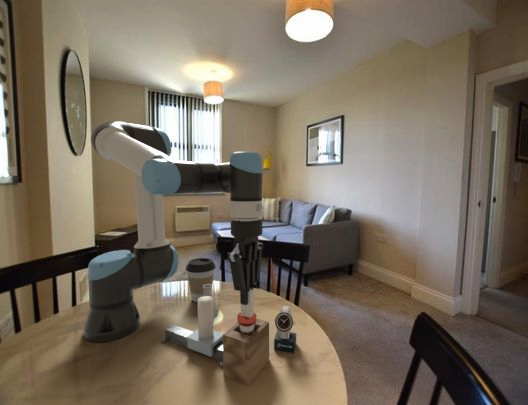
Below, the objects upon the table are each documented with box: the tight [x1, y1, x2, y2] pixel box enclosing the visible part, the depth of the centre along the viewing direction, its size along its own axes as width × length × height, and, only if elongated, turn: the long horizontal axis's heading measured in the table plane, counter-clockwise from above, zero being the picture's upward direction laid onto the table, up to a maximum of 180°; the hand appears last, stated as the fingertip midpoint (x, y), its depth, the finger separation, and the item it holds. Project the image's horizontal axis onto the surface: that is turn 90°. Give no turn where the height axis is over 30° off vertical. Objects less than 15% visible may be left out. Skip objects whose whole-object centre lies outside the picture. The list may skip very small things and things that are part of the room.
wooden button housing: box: [222, 317, 270, 387], centre depth 64 cm, size 7×10×10 cm
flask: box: [197, 284, 219, 318], centre depth 90 cm, size 7×7×10 cm
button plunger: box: [236, 312, 257, 336], centre depth 64 cm, size 5×5×6 cm
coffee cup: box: [185, 257, 216, 303], centre depth 102 cm, size 11×11×15 cm
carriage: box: [187, 296, 225, 358], centre depth 70 cm, size 8×6×13 cm
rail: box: [160, 324, 223, 368], centre depth 72 cm, size 22×6×3 cm, turn 62°
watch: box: [273, 305, 297, 354], centre depth 72 cm, size 6×8×11 cm
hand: (247, 315), depth 63 cm, fingers closed
